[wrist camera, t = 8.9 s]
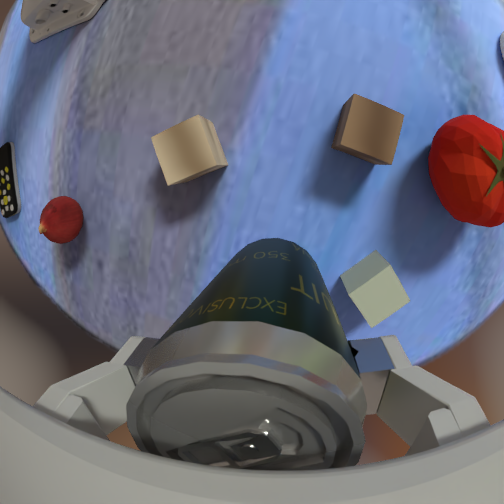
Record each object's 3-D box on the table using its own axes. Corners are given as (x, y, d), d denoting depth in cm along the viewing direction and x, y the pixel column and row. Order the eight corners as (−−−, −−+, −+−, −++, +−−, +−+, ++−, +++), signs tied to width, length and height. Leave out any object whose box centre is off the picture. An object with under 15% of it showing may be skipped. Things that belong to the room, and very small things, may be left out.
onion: (60, 208, 32) (20, 221, 24) (81, 183, 30) (39, 192, 23) (79, 242, 33) (40, 261, 25) (101, 219, 31) (60, 235, 24)
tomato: (497, 177, 23) (550, 187, 14) (449, 236, 27) (500, 266, 17) (448, 100, 22) (500, 84, 12) (393, 158, 25) (441, 158, 16)
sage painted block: (361, 305, 31) (371, 328, 26) (339, 275, 30) (348, 294, 25) (394, 281, 29) (410, 300, 25) (375, 249, 29) (390, 264, 24)
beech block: (186, 182, 29) (167, 185, 24) (171, 141, 28) (150, 137, 23) (228, 165, 28) (216, 164, 23) (212, 122, 27) (198, 114, 22)
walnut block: (331, 148, 26) (340, 144, 21) (343, 104, 25) (354, 93, 20) (374, 164, 26) (391, 164, 21) (386, 122, 24) (404, 115, 20)
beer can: (257, 337, 17) (212, 512, 5) (210, 264, 16) (75, 388, 5) (335, 298, 16) (399, 470, 4) (291, 218, 15) (304, 286, 4)
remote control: (15, 139, 30) (7, 139, 28) (24, 210, 33) (16, 213, 31) (0, 151, 31) (-8, 152, 29) (8, 217, 34) (1, 220, 32)
